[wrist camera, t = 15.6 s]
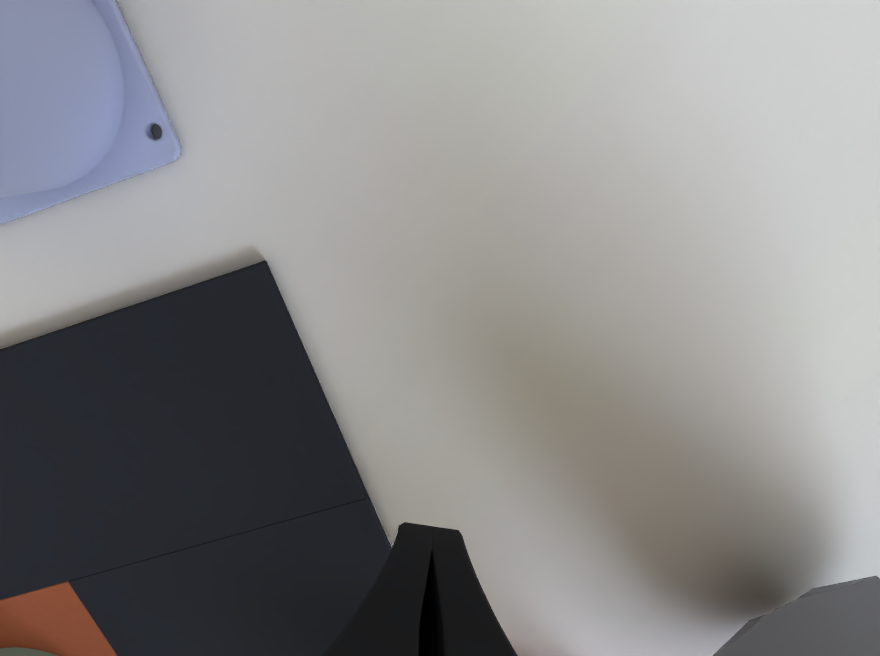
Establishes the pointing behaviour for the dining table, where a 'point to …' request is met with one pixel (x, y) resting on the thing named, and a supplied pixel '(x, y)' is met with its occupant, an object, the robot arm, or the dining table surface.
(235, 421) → the mat
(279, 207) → the dining table surface
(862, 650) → the bottle
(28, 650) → the cup
